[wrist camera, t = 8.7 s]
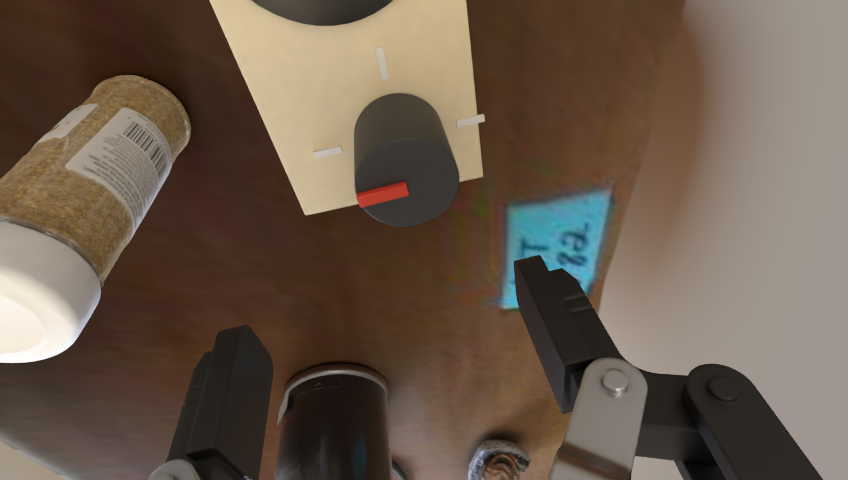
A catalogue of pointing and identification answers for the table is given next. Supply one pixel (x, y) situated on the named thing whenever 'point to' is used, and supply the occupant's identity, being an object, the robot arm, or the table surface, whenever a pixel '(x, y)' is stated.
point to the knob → (403, 161)
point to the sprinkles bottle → (80, 210)
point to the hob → (352, 84)
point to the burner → (323, 10)
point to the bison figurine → (498, 461)
